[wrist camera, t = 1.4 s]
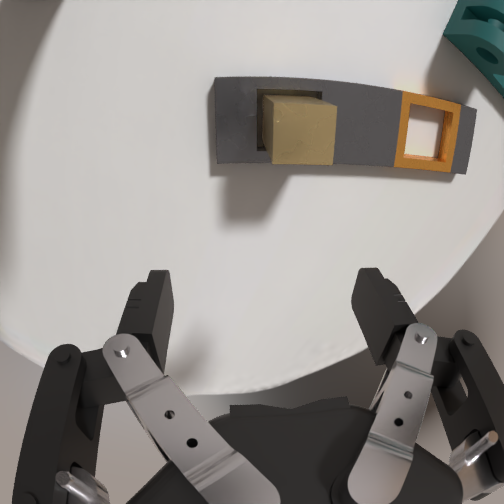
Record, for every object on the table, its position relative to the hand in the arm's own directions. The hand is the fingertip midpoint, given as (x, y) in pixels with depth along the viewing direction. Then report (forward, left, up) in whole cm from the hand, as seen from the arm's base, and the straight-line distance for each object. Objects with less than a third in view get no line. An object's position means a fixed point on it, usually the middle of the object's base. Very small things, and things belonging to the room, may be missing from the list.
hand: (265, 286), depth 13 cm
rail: (-4, +11, -20) cm, 23 cm away
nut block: (-4, +4, -20) cm, 20 cm away
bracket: (-15, +30, -20) cm, 39 cm away
